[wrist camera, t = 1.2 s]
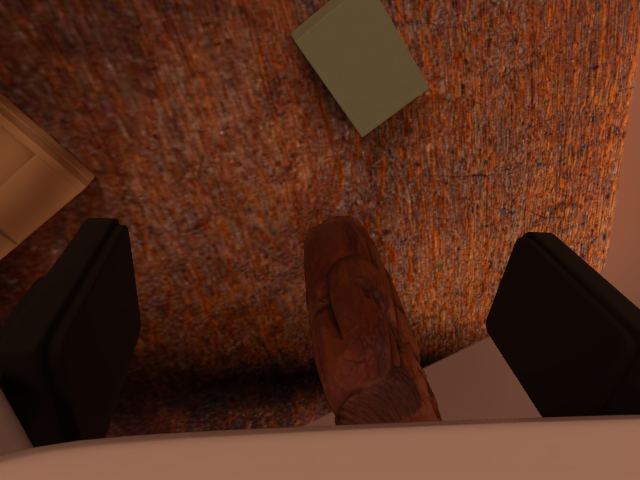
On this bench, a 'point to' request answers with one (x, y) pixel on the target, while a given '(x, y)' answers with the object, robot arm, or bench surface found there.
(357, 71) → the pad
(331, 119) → the bench surface
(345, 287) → the wooden figurine
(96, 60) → the bench surface
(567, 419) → the robot arm
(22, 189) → the frame
